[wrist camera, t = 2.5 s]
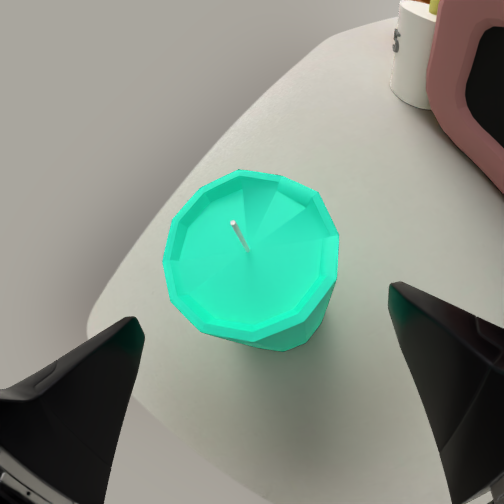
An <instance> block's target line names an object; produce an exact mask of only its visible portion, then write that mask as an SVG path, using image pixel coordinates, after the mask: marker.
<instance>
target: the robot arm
mask: <svg viewBox="0 0 504 504" xmlns="http://www.w3.org/2000/svg"><path fill="white" fill-rule="evenodd" d="M388 310H389V313H390V316H391V319H392V322H393V326H394V329H395V332H396V335H397V339H398V342H399V345H400V348H401V350H402V353H403V355H404V357H405V360H406V362H407V365H408V367H409V369H410V372H411V374H412V377H413V379H414V382H415V384H416V387H417V390H418V392H419V395H420V398H421V400H422V403H423V406H424V408H425V411H426V414H427V417H428V420H429V423H430V426H431V429H432V432H433V435H434V438H435V441H436V444H437V447H438V451H439V453H440V454H439V455H440V458H441V461H442V465H443V469H444V472H445V476H446V480H447V484H448V488H449V492H450V497H451V501H452V504H466V503H468V502H470V501H472V500H474V499H476V498H478V497H480V496H481V495H483V494H485V493H487V492H489V491H490V490H491V493H492V497H493V500H492V501H491V502H489V503H488V504H504V329H503V328H501V327H499V326H496V325H494V324H492V323H490V322H488V321H485V320H483V319H481V318H479V317H476V316H475V315H473V314H471V313H469V312H467V311H465V310H462V309H460V308H458V307H456V306H454V305H452V304H450V303H448V302H445V301H443V300H441V299H439V298H437V297H435V296H432V295H430V294H428V293H426V292H424V291H421V290H419V289H417V288H415V287H413V286H410V285H408V284H406V283H404V282H395V283H391V284H390V285H389V295H388ZM144 341H145V335H144V332H143V330H142V328H141V326H140V324H139V322H138V320H137V318H136V317H134V316H132V317H125V318H123V319H121V320H120V321H118V322H116V323H115V324H113V325H112V326H110V327H108V328H107V329H105V330H104V331H102V332H100V333H99V334H97V335H96V336H94V337H92V338H91V339H89V340H88V341H86V342H84V343H83V344H81V345H80V346H78V347H77V348H75V349H73V350H72V351H70V352H69V353H67V354H65V355H64V356H62V357H61V358H59V359H58V360H56V361H54V362H53V363H52V364H50V365H48V366H47V367H45V368H43V369H42V370H40V371H38V372H36V373H35V374H33V375H31V376H29V377H28V378H26V379H24V380H22V381H20V382H19V383H17V384H15V385H13V386H11V387H9V388H6V389H1V390H0V504H104V500H105V495H106V490H107V485H108V480H109V476H110V472H111V467H112V462H113V458H114V454H115V450H116V446H117V442H118V438H119V435H120V431H121V427H122V424H123V420H124V417H125V413H126V410H127V406H128V403H129V399H130V396H131V393H132V390H133V386H134V383H135V380H136V377H137V373H138V369H139V364H140V359H141V355H142V350H143V346H144Z"/></svg>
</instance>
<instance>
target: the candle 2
mask: <svg viewBox="0 0 504 504" xmlns="http://www.w3.org/2000/svg"><path fill="white" fill-rule="evenodd" d="M439 1H440V0H431V1H430V5H429V4H426V3H422V2H418V1H411V0H403V1H400V4H399V16H398V28H397V29H395V33H394V40H395V45H393V51H394V52H395V54H394V62H393V69H392V75H391V81H390V87H391V89H392V91H393V92H394V93H395V95H396V96H398V97H399V98H400V99H401V100H403V101H404V102H406V103H408V104H410V105H412V106H414V107H417V108H421V109H426V110H431V107H430V103H429V99H428V96H427V92H426V70H427V65H428V61H429V56H430V51H431V46H432V41H433V35H434V30H435V24H436V17H437V10H438V4H439Z"/></svg>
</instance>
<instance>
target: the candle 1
mask: <svg viewBox="0 0 504 504" xmlns="http://www.w3.org/2000/svg"><path fill="white" fill-rule="evenodd" d="M338 250H339V234H338V232H337V229H336V227H335V225H334V223H333V221H332V219H331V217H330V215H329V213H328V211H327V209H326V207H325V204H324V202H323V200H322V198H321V196H320V194H319V192H317V191H315V190H312V189H310V188H308V187H306V186H304V185H302V184H299V183H297V182H295V181H293V180H291V179H288V178H286V177H284V176H280V175H274V174H268V173H261V172H255V171H248V170H240V169H238V170H236V171H234V172H232V173H230V174H227V175H225V176H223V177H221V178H219V179H217V180H215V181H213V182H211V183H209V184H207V185H205V186H203V187H201V188H200V189H199V190H198V191H197V192H196V193H195V194H194V195H193V196H192V197H191V199H190V200H189V201H188V202H187V203H186V204H185V205H184V207H183V208H182V209H181V210H180V211H179V212H178V213H177V215H176V216H175V217H174V218H173V219H172V222H171V226H170V231H169V235H168V239H167V243H166V247H165V252H164V256H163V261H162V262H163V267H164V272H165V278H166V283H167V288H168V292H169V297H170V301H171V303H172V304H173V305H174V306H175V307H176V308H177V309H178V310H179V311H180V312H181V313H182V314H183V315H184V316H185V317H186V318H187V319H188V320H189V321H190V322H191V323H192V324H193V325H194V326H195V327H196V328H197V329H198V330H199V331H200V332H202V333H205V334H209V335H212V336H215V337H219V338H223V339H226V340H230V341H233V342H237V343H241V344H245V345H249V346H252V347H256V348H261V349H267V350H274V351H281V352H284V351H287V350H289V349H292V348H294V347H297V346H299V345H302V344H304V343H306V342H307V341H308V340H309V338H310V337H311V336H312V335H313V333H314V332H315V331H316V329H317V328H318V327H319V325H320V324H321V322H322V320H323V317H324V314H325V311H326V309H327V306H328V303H329V300H330V297H331V294H332V291H333V288H334V286H335V283H336V280H337V268H338Z"/></svg>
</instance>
